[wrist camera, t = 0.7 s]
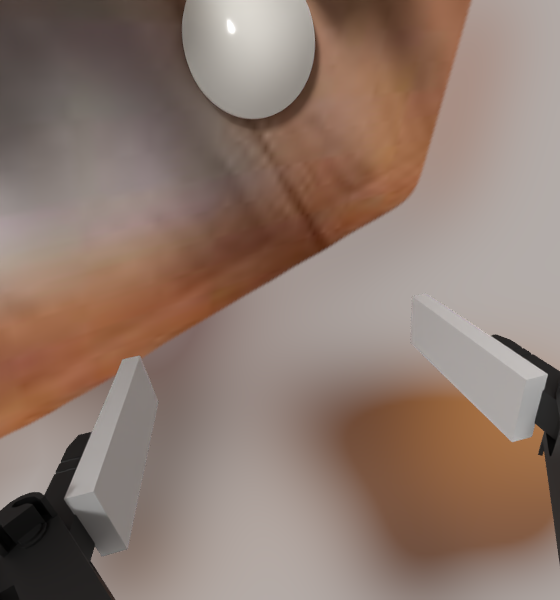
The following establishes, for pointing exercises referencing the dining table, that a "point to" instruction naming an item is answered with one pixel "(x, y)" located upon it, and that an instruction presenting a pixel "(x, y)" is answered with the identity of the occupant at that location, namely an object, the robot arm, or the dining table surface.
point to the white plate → (249, 52)
